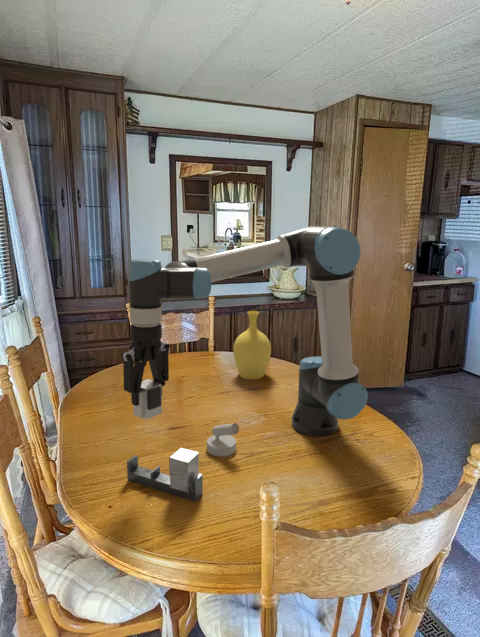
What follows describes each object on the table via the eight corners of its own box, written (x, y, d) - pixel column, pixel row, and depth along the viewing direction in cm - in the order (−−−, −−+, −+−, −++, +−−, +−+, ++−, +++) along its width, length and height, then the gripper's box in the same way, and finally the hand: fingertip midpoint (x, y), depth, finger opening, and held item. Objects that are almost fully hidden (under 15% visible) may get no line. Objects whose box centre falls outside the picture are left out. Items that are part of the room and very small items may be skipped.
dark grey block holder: (204, 492, 108) (204, 453, 106) (193, 504, 103) (193, 464, 101) (137, 472, 116) (136, 435, 114) (125, 482, 111) (124, 444, 109)
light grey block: (133, 413, 111) (132, 384, 109) (149, 407, 115) (148, 378, 113) (147, 420, 108) (147, 389, 106) (163, 413, 111) (163, 384, 110)
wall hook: (226, 430, 120) (200, 419, 126) (226, 461, 122) (200, 449, 128) (246, 419, 126) (220, 409, 132) (245, 449, 128) (220, 438, 134)
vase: (228, 370, 194) (229, 308, 188) (262, 367, 199) (264, 307, 193) (239, 383, 179) (240, 316, 173) (275, 380, 184) (278, 315, 178)
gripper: (163, 315, 115) (164, 398, 120) (104, 327, 102) (108, 419, 107) (183, 320, 111) (183, 405, 116) (125, 332, 97) (127, 429, 102)
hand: (147, 412), depth 111 cm, fingers closed on light grey block, 5 cm apart
